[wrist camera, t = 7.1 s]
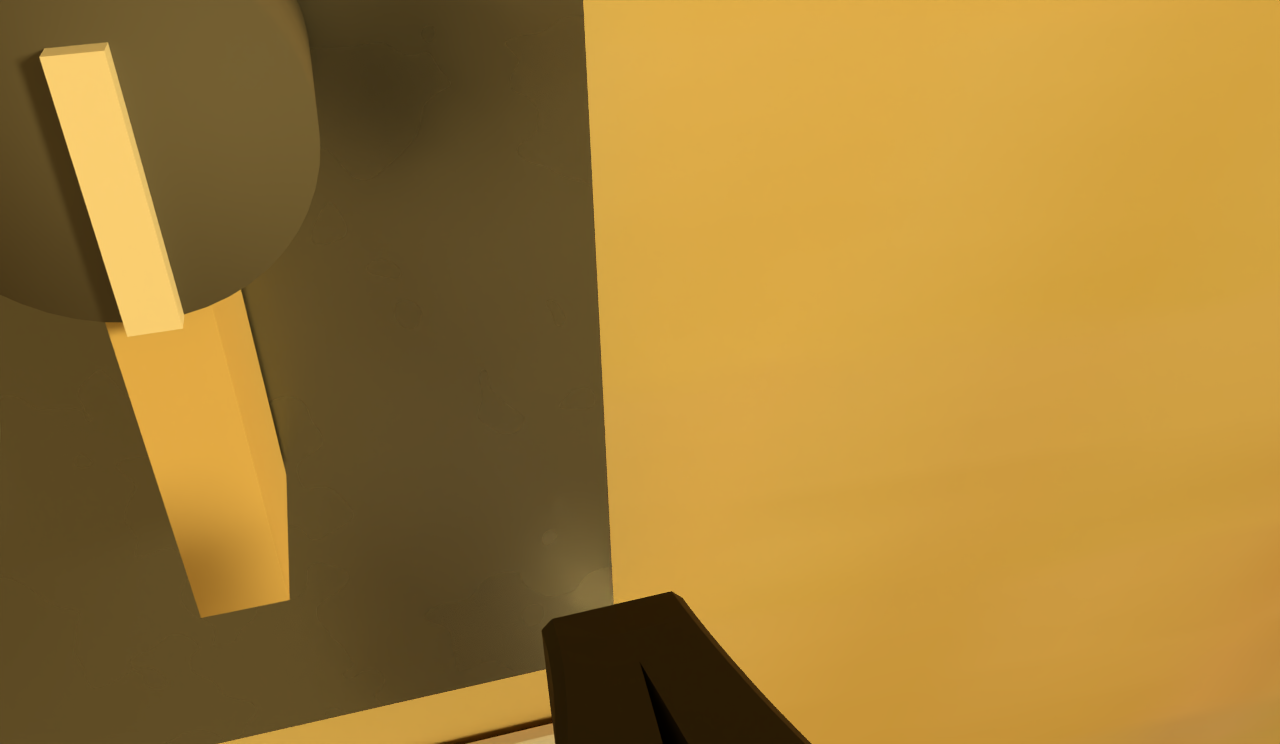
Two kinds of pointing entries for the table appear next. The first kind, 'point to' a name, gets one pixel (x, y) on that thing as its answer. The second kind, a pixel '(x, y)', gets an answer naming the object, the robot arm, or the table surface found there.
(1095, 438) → the table surface
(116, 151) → the knob
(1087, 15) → the table surface
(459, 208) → the levelling plate
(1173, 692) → the table surface
